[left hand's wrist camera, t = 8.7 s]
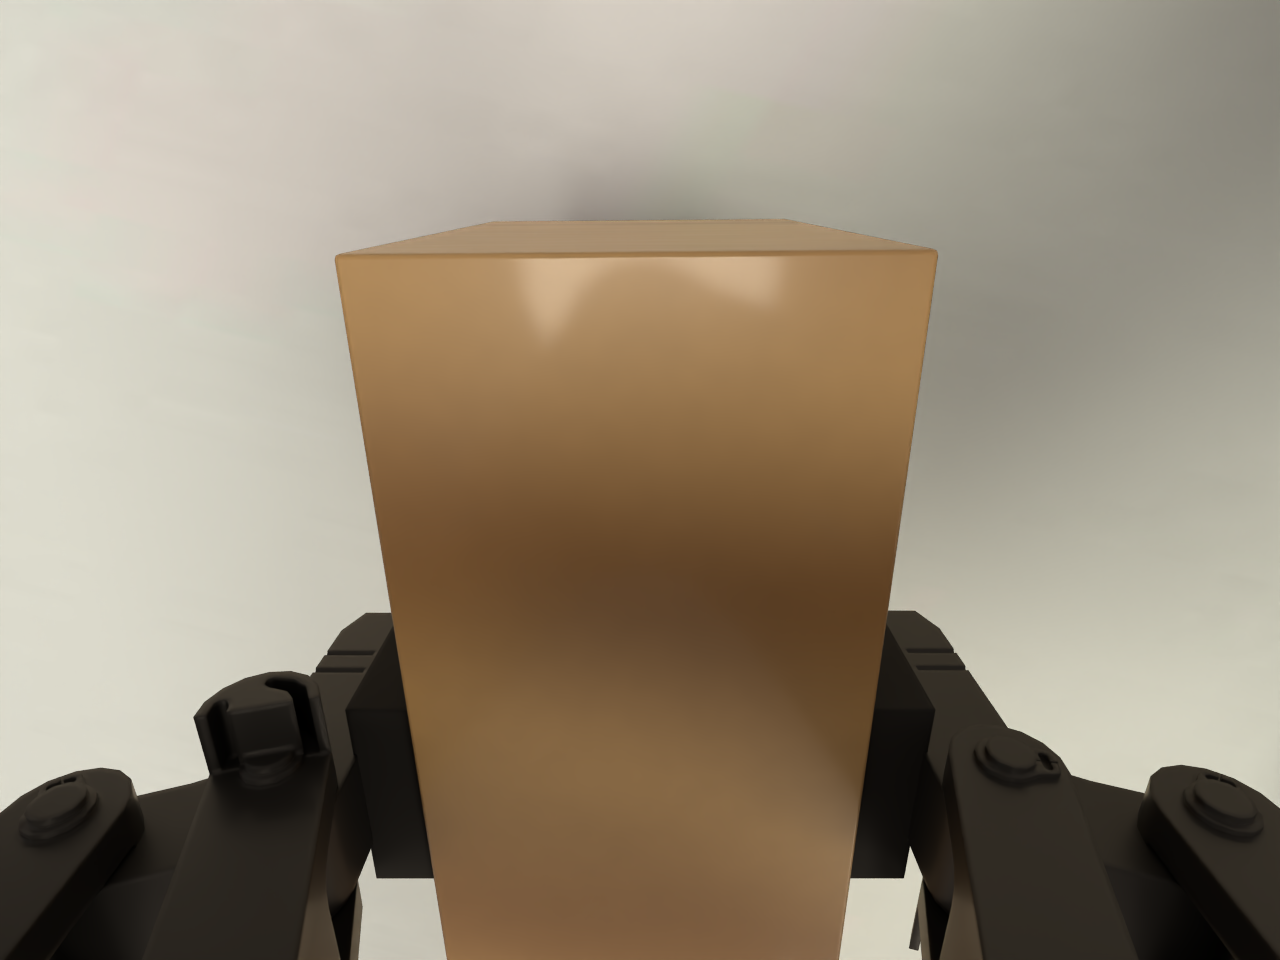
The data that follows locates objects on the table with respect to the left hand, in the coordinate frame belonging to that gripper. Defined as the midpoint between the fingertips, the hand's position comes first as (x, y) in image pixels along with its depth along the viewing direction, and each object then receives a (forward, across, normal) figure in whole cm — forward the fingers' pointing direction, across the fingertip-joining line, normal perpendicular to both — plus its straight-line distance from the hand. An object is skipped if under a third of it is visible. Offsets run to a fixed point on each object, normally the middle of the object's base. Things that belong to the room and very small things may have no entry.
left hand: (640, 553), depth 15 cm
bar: (+1, 0, -32) cm, 32 cm away
